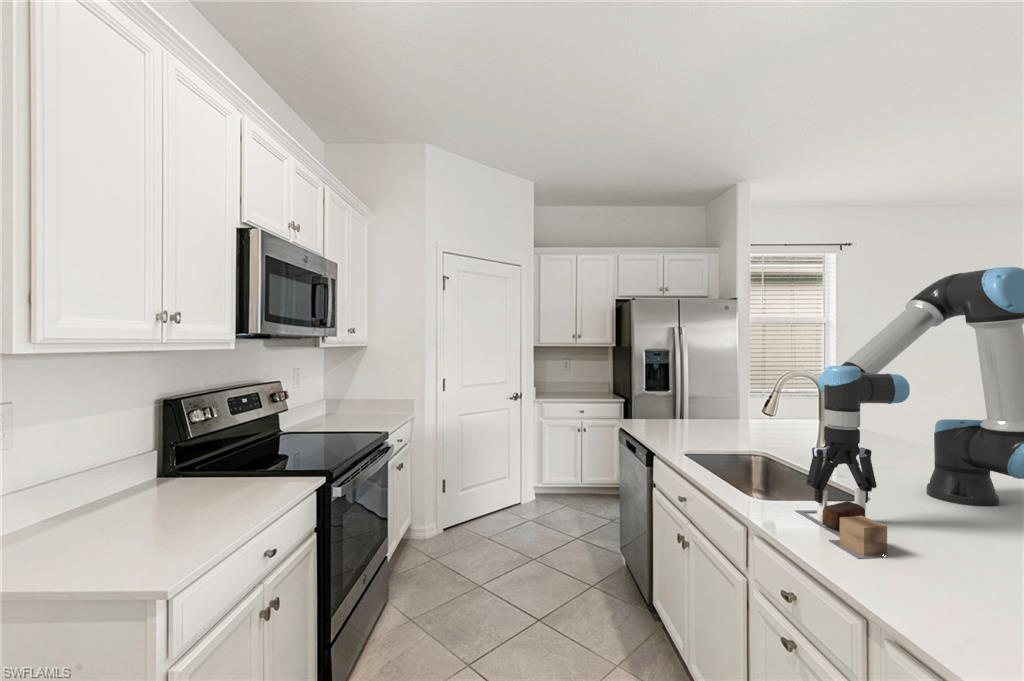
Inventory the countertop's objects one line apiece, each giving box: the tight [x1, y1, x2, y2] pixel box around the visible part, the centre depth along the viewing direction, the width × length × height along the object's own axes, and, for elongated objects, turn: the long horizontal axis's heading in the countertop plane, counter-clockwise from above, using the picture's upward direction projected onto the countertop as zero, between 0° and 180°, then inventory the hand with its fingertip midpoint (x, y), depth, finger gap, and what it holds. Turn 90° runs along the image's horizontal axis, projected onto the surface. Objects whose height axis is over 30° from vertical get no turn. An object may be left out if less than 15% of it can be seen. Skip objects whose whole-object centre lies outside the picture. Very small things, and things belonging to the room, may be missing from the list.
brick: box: [821, 501, 866, 531], centre depth 118 cm, size 11×4×5 cm, turn 113°
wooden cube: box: [839, 516, 888, 556], centre depth 105 cm, size 6×6×6 cm
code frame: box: [794, 509, 840, 538], centre depth 120 cm, size 13×17×1 cm
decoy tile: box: [828, 539, 886, 560], centre depth 105 cm, size 9×9×1 cm
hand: (841, 515), depth 120 cm, fingers closed on brick, 9 cm apart
